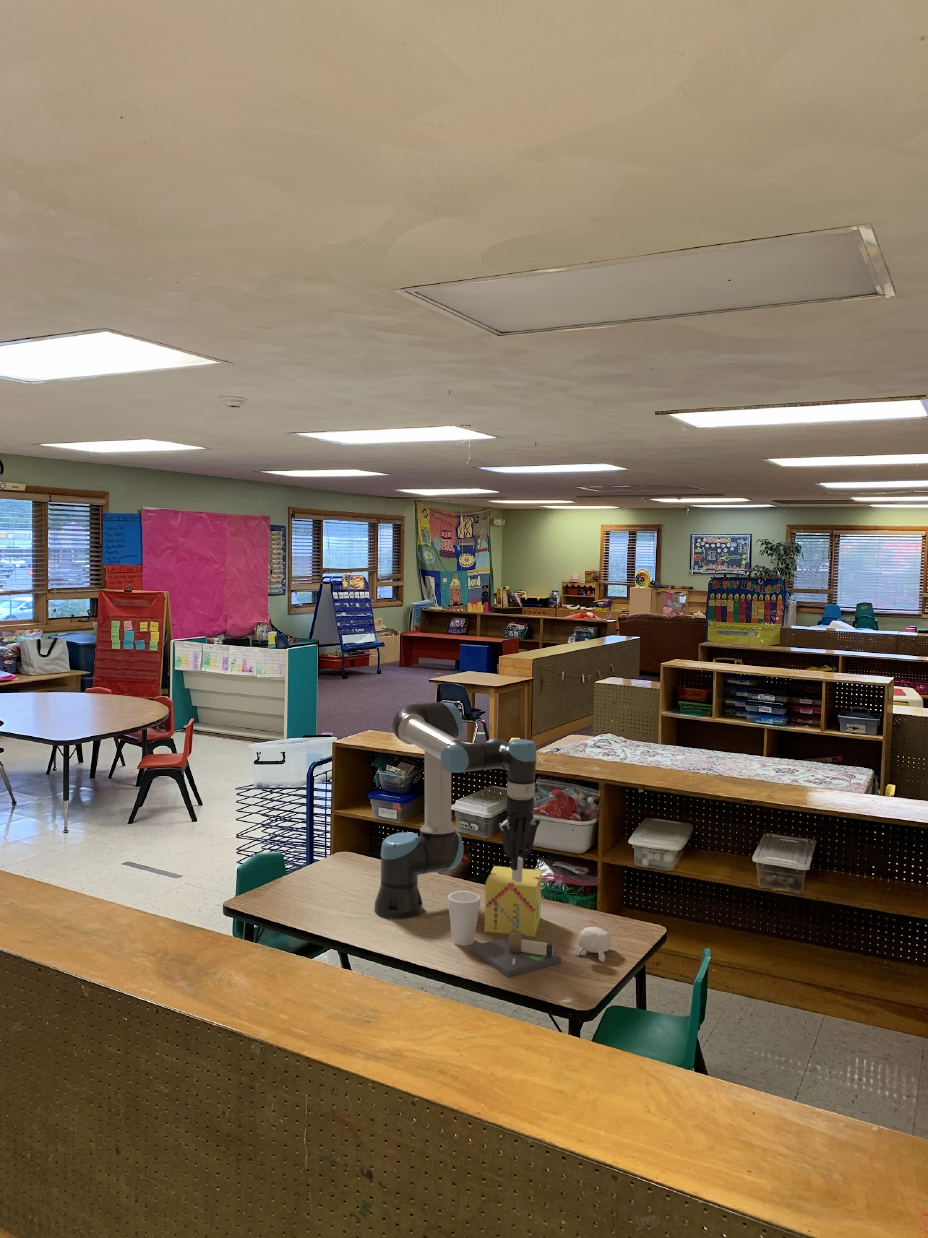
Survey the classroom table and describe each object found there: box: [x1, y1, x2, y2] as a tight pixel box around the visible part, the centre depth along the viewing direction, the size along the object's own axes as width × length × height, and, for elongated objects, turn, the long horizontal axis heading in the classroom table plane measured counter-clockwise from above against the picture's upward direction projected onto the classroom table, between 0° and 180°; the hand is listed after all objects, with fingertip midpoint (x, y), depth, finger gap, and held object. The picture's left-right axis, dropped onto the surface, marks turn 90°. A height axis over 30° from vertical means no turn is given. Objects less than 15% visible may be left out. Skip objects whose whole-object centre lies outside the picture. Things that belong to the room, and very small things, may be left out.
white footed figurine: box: [574, 926, 612, 962], centre depth 241 cm, size 9×8×15 cm
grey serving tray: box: [470, 934, 562, 978], centre depth 239 cm, size 18×18×2 cm
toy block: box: [484, 865, 543, 938], centre depth 262 cm, size 15×15×15 cm
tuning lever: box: [508, 931, 554, 957], centre depth 237 cm, size 12×4×5 cm, turn 72°
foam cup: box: [447, 890, 481, 947], centre depth 248 cm, size 10×9×13 cm
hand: (516, 880), depth 238 cm, fingers closed
